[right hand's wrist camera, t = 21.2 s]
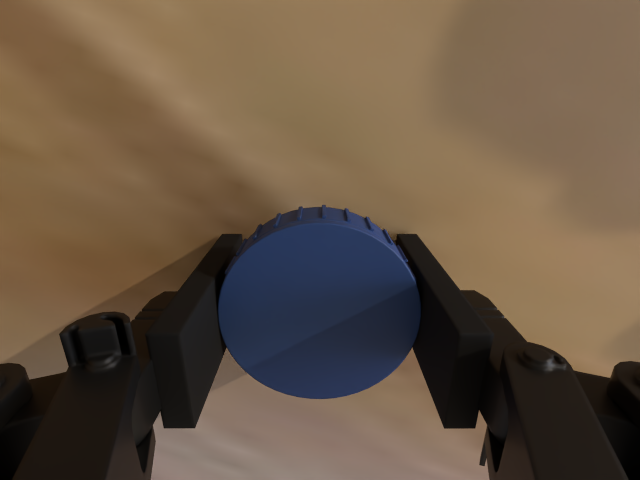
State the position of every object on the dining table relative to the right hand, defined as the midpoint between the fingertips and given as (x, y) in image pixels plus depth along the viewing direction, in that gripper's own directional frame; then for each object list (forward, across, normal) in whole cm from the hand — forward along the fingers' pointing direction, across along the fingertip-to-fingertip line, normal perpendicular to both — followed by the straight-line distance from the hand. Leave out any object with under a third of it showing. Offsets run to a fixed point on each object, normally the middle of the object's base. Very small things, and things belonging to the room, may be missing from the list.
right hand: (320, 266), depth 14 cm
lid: (-3, 0, 0) cm, 3 cm away
